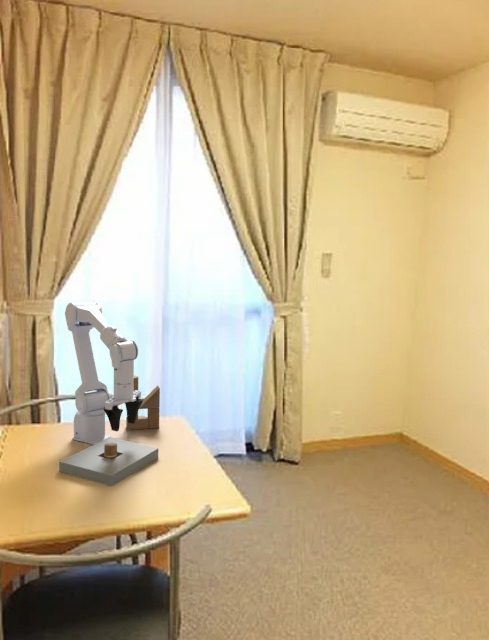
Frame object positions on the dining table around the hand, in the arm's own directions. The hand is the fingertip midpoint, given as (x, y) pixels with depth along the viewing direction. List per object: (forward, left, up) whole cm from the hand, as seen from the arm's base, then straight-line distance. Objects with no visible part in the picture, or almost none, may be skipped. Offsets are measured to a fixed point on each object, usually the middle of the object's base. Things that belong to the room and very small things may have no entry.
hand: (123, 426), depth 174 cm
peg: (+1, -7, -9) cm, 11 cm away
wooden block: (-9, +23, -10) cm, 27 cm away
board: (+1, -7, -9) cm, 11 cm away
